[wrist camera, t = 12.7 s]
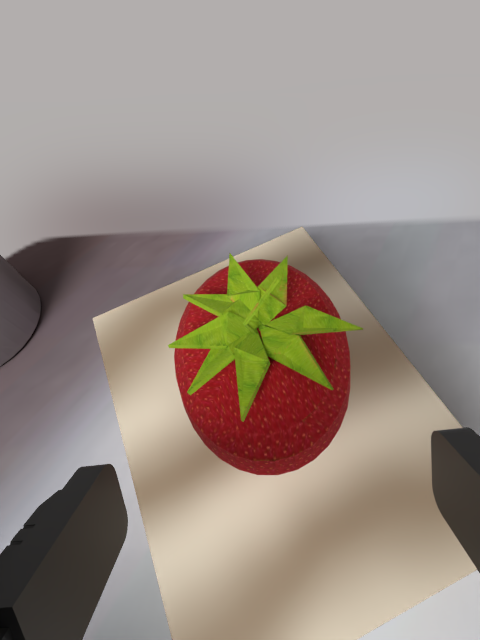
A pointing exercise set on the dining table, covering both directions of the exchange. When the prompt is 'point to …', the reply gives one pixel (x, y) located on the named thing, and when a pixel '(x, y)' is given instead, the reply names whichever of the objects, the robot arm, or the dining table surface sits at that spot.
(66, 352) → the dining table surface
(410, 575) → the birch stand
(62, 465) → the dining table surface
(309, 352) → the strawberry
